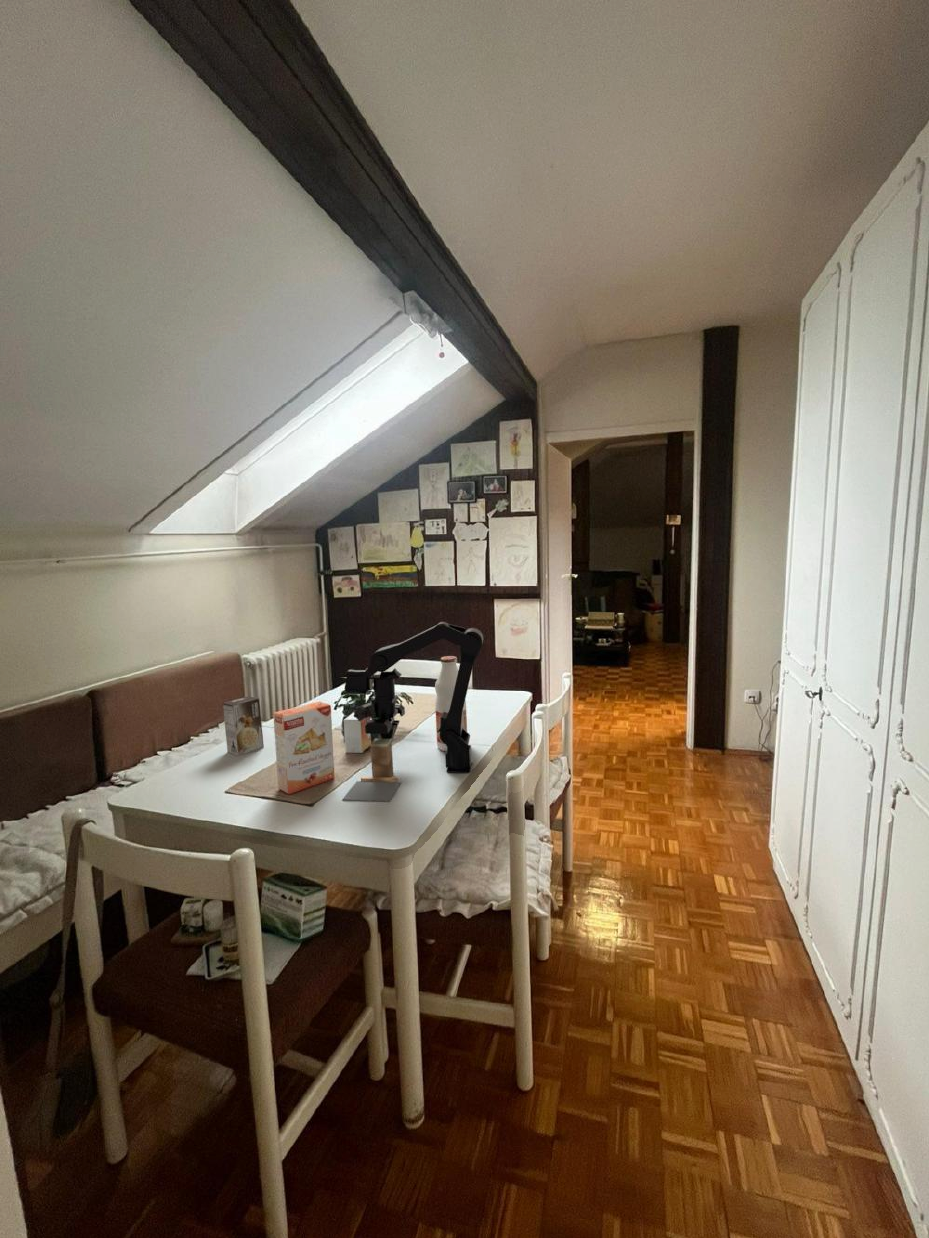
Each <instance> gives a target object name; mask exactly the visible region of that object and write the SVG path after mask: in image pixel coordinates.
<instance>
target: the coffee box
mask: <svg viewBox="0 0 929 1238" xmlns="http://www.w3.org/2000/svg"><path fill="white" fill-rule="evenodd" d="M260 705H261V704H260V698H258V697H252V696H248V695H247V696H243V697H240V698H235V699H232V700H229V701H224V702H222V710H223V721H224V722H223V723H224V731H225V740H226V748H227V750H226V751H227V753H229V754H231V755H235V756H238V757H239V756H242V755H245V754H248V753H250V752H254V751H257V750H259V749H262V748H264V747H265V744H264V735H263V734H264V733H263V724H262V717H261V716H262V715H261V706H260Z"/></svg>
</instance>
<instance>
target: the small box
mask: <svg viewBox="0 0 929 1238" xmlns="http://www.w3.org/2000/svg"><path fill="white" fill-rule="evenodd" d="M370 717H371V716H370ZM370 717H367V718H364V719H362V720H361V721H358V719H357V718H355V717H354V711H353V712H352V713H351V714H349V715H348V716H347V717H346V718H344V719H343V731H344V732H343V733H344V748H345V754H346V753H349V754H350V753H351V754H355V753H356V754H363V753H364V751H366V749H368V748H369V747H371V745H370V744H371V743H372V737H371V735H372V734H366V733H365V726H366V725H367V723H368V722H369V721H371V719H370Z"/></svg>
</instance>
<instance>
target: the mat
mask: <svg viewBox="0 0 929 1238" xmlns="http://www.w3.org/2000/svg"><path fill="white" fill-rule="evenodd" d="M401 783H402V782H401V781H398V782H370V781H361V780H360V781H359V780H356V781H355V783H354V784H353V785H352V787H351V788H350V789H349V791H348V792H346V794H345V795H344V797H343V798H342V800H341V801H348V802H349V801H350V802H351V801H352V802H353V801H354V802H379V803H380V802H383V803H384V802H385V803H390V802H391V800H392V798H393V797H394V795H395V794H396V792H397V791H398V789H399V787H400V786H401Z"/></svg>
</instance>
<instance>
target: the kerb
mask: <svg viewBox="0 0 929 1238" xmlns="http://www.w3.org/2000/svg"><path fill="white" fill-rule="evenodd" d="M360 781H370V782H399V777H391V778H387V777H372V776H361V777H360Z"/></svg>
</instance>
